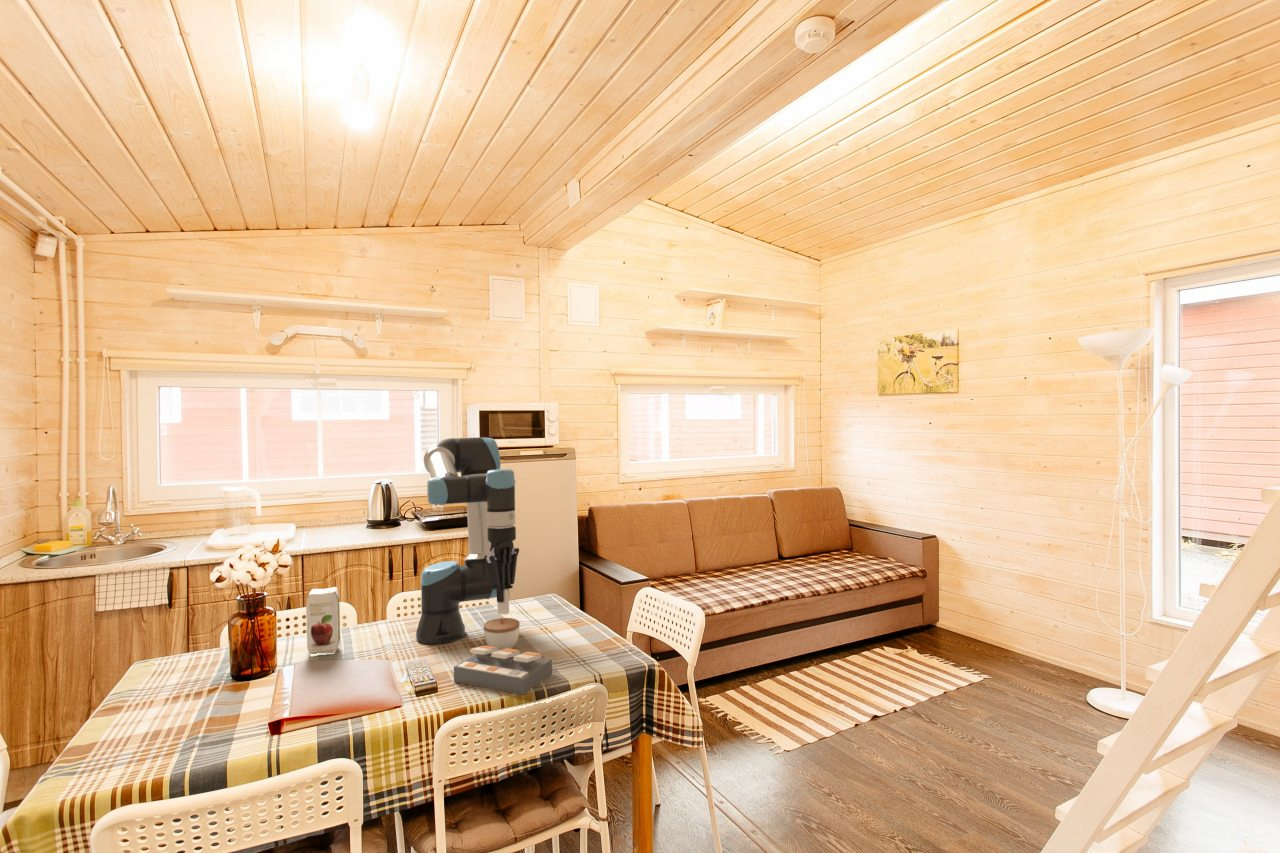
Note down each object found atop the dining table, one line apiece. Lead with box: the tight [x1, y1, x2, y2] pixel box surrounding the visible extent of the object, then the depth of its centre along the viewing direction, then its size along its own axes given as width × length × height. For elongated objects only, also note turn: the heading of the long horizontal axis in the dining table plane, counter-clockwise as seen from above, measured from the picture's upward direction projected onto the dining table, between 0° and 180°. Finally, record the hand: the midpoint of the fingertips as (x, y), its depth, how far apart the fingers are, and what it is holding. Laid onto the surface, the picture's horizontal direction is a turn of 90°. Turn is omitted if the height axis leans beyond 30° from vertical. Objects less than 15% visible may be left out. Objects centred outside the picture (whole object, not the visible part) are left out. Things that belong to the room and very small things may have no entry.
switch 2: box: [491, 648, 520, 659], centre depth 172 cm, size 4×7×1 cm, turn 158°
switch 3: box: [513, 651, 542, 663], centre depth 169 cm, size 4×7×1 cm, turn 158°
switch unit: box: [453, 653, 553, 695], centre depth 171 cm, size 22×14×5 cm, turn 68°
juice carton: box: [305, 586, 341, 654], centre depth 191 cm, size 8×9×19 cm
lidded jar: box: [483, 617, 520, 651], centre depth 193 cm, size 11×11×9 cm
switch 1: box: [469, 645, 498, 655], centre depth 175 cm, size 4×7×1 cm, turn 158°
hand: (503, 613), depth 171 cm, fingers closed
